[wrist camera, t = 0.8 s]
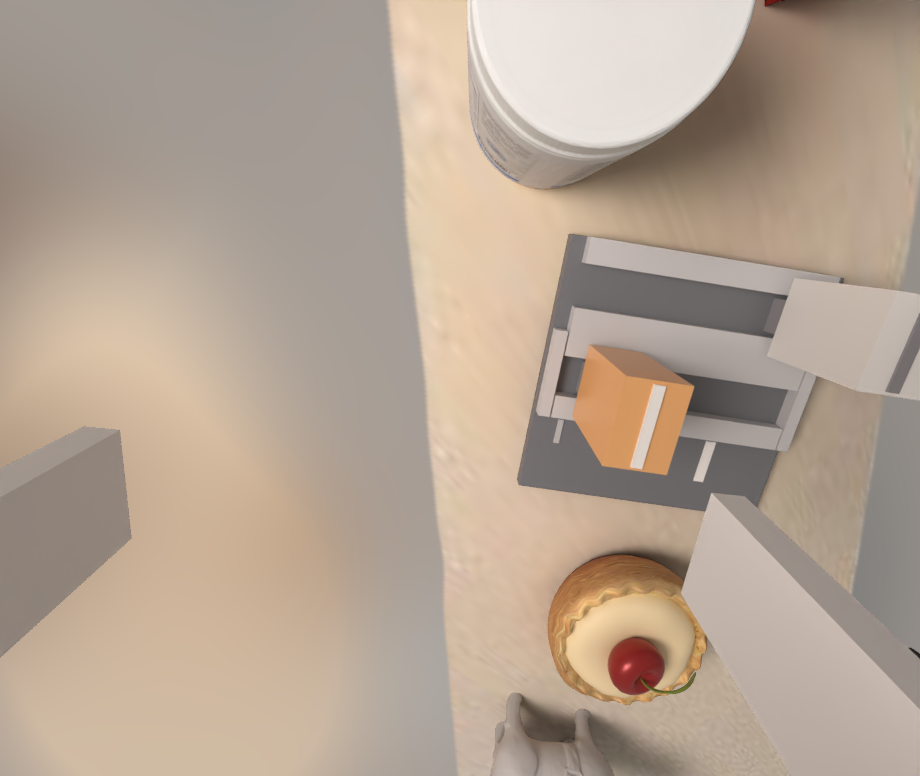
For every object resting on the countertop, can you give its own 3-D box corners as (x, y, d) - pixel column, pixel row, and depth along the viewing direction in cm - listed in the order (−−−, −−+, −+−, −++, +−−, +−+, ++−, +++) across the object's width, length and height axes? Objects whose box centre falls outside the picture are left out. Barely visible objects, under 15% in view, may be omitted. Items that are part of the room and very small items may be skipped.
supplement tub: (638, 21, 28) (814, -196, 14) (611, 196, 31) (735, 163, 17) (472, 8, 28) (480, -226, 14) (460, 185, 31) (457, 141, 17)
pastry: (525, 560, 39) (542, 649, 31) (670, 523, 38) (730, 605, 29) (560, 670, 43) (584, 778, 34) (694, 639, 41) (754, 743, 33)
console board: (568, 234, 31) (615, 232, 22) (832, 277, 32) (991, 294, 22) (517, 478, 37) (536, 564, 27) (744, 510, 37) (842, 606, 28)
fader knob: (583, 339, 32) (627, 376, 24) (634, 347, 33) (696, 386, 24) (567, 408, 34) (603, 467, 25) (616, 415, 34) (667, 476, 25)
